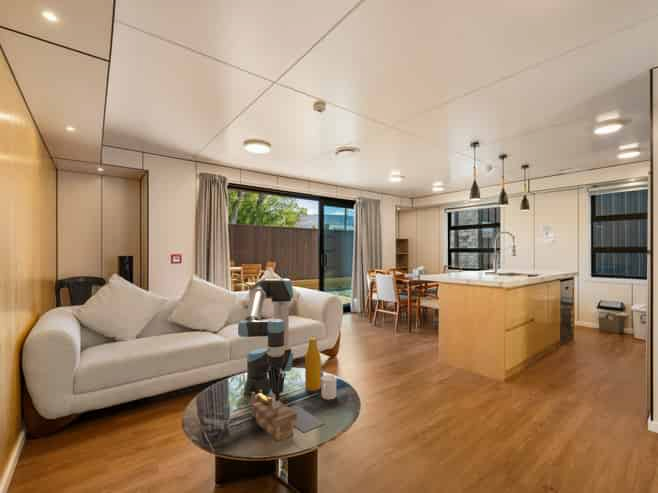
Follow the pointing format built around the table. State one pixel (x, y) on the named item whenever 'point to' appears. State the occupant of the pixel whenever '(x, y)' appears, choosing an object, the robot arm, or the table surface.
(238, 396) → the table surface
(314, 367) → the beer bottle
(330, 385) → the mug
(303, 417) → the felt mat
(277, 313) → the robot arm
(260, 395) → the key
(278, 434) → the toolbox
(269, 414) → the lid
